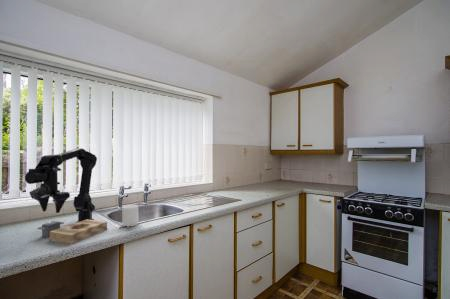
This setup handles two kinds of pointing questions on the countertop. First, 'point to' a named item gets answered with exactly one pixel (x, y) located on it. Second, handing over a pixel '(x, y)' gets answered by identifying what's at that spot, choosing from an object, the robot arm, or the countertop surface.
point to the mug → (130, 215)
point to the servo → (49, 228)
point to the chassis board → (78, 231)
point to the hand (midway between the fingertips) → (51, 212)
